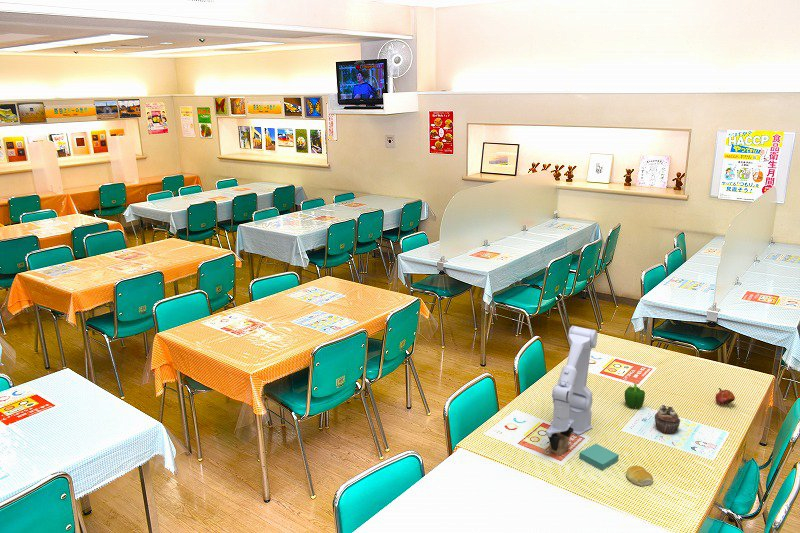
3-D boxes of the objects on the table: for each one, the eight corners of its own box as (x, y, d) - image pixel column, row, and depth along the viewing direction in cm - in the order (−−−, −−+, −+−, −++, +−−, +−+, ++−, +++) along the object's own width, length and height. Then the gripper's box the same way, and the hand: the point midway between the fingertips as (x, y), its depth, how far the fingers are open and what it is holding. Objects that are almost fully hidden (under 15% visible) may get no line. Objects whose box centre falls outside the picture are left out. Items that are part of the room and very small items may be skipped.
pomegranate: (735, 411, 268) (726, 390, 274) (742, 404, 262) (732, 383, 268) (719, 413, 268) (709, 392, 274) (725, 406, 262) (715, 385, 268)
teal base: (595, 450, 236) (595, 443, 235) (618, 461, 228) (618, 454, 227) (579, 459, 230) (579, 452, 229) (602, 471, 222) (602, 464, 222)
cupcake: (681, 436, 244) (684, 414, 241) (655, 434, 246) (658, 411, 243) (676, 424, 253) (678, 402, 250) (651, 422, 255) (653, 400, 252)
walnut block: (557, 445, 238) (558, 432, 237) (567, 451, 234) (569, 437, 233) (549, 450, 235) (549, 436, 234) (559, 456, 231) (560, 441, 230)
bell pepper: (640, 412, 262) (642, 391, 260) (621, 407, 267) (623, 386, 265) (646, 405, 269) (648, 384, 266) (627, 399, 274) (629, 379, 271)
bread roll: (641, 470, 223) (642, 460, 222) (656, 484, 214) (657, 474, 213) (620, 473, 221) (621, 463, 220) (635, 488, 212) (636, 478, 211)
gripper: (564, 405, 238) (562, 436, 242) (540, 416, 230) (538, 449, 233) (579, 412, 233) (577, 444, 236) (555, 424, 224) (552, 457, 228)
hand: (558, 447), depth 234 cm, fingers closed on walnut block, 5 cm apart
